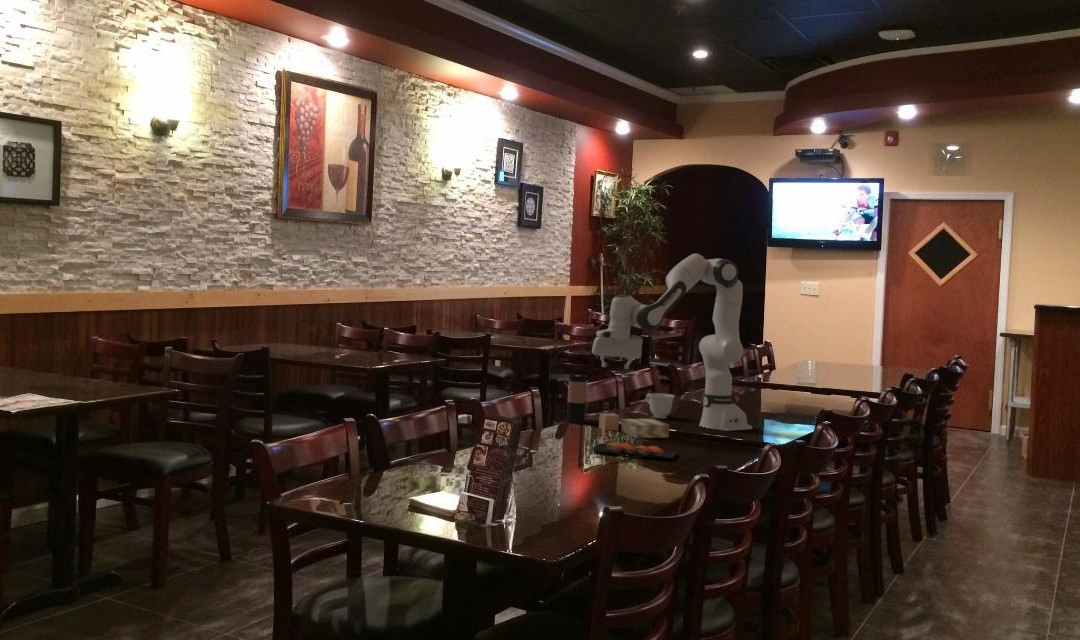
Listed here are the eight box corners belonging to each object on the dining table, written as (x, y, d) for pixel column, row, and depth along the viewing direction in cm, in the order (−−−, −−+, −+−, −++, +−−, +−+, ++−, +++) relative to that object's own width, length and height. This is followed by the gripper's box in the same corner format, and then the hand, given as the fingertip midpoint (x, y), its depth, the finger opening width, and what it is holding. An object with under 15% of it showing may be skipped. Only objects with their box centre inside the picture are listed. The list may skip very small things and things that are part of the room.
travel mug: (564, 420, 401) (566, 373, 400) (581, 420, 404) (583, 374, 402) (570, 423, 394) (572, 376, 393) (587, 423, 396) (589, 376, 395)
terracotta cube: (612, 427, 390) (612, 413, 390) (618, 430, 385) (619, 415, 384) (598, 427, 388) (599, 413, 388) (604, 430, 383) (605, 415, 382)
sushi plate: (677, 455, 340) (678, 445, 340) (665, 472, 311) (666, 461, 311) (598, 447, 348) (599, 437, 347) (579, 463, 319) (580, 452, 319)
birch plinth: (652, 430, 387) (653, 418, 386) (668, 437, 373) (669, 424, 373) (621, 431, 382) (621, 419, 382) (636, 437, 369) (637, 425, 368)
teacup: (654, 413, 434) (656, 391, 433) (679, 418, 422) (680, 396, 422) (636, 415, 426) (637, 393, 425) (660, 420, 414) (661, 397, 414)
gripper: (640, 335, 390) (637, 369, 391) (592, 331, 386) (589, 365, 387) (645, 336, 384) (641, 370, 385) (596, 332, 380) (593, 366, 380)
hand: (615, 367), depth 386 cm, fingers open, 8 cm apart
